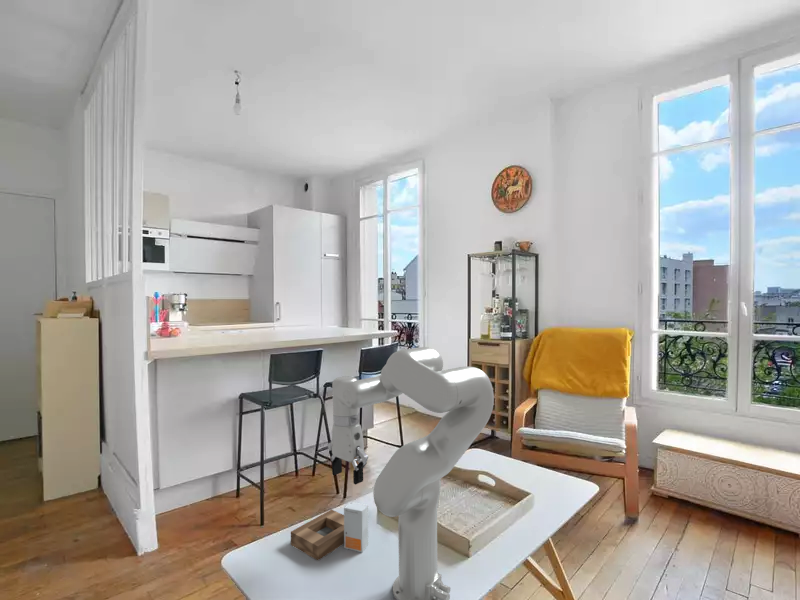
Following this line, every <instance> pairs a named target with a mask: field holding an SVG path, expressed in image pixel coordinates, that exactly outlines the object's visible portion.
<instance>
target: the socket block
mask: <svg viewBox="0 0 800 600" xmlns="http://www.w3.org/2000/svg"><path fill="white" fill-rule="evenodd" d="M291 545H292V546H291ZM290 546H291V547H293V546H294V547H293V548H295V549H297V550H299V551H300V552H302V553H304V554H305V555H308V556H309V557H310V558H312V559H314V560H315V561H320V560H321V559H324V557H326V556H328V555H330V554H331V553H333V552H334V551H336V550H337V549H338V548H340V547H342V546H344V513H340V512H339V511H336V510H333V509H330V510H328V511H326V512H324V513H323V514H321V515H319V516H317V517H315V518H313V519H312V520H310V521H308V522H306V523H304V524H303V525H300V526H299V527H297V528H295V529H293V530H291V531H290Z"/></svg>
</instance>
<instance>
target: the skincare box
mask: <svg viewBox="0 0 800 600" xmlns="http://www.w3.org/2000/svg"><path fill="white" fill-rule="evenodd" d="M343 515H344V544H343V548H344V549H346V550H351V551H355V552H359V553H364V551H365V550H366V549H367V547H368V546H369V505H368V504H367V503H365V504H364V503H361V502H353V501H349V502H348V503H346V506H344V508H343Z"/></svg>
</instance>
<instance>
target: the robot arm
mask: <svg viewBox="0 0 800 600" xmlns="http://www.w3.org/2000/svg"><path fill="white" fill-rule="evenodd" d="M331 384H332V421H333V422H332V423H333V424H332V430H331V442H328V443H327V449H328V454H329V456H330V461H331V468H332V469H331V471H332V472H331V474H332V476H336V475H339V474H341V473H343V467H342V465H343V461H346V462H348V463H351V464H352V466H353V473H352V474H353V477H352V478H353V481H352V482H353V485H359V484H360V483H362V482H364V469H365V466H366V465H367V462H368V459H369V456H368V454H367V453H366V452H365V443H364V436H363V429H362V426H361V424H360V410H359V409H361V408H364V407H368V406H372V405H376V404H380V403H384V402H387V401H389V400H391V399H394V398H397V397H398V396H401V395H403V394H404V395H405V396H406V397H408V398H409V399H411V400H412V401H414V402H415V403H417V404H418V405H420V406H421V407H422V408H424V409H425V410H428V411H430V412H432V413H436V414H443V413H445V414H444V415H443V416H442V417H441V419H440V420H439V421H438V423H437V424H436V426H435V427H434V428H433V429H432V431H430V433H429V434H427V435H426V436H423V437H422V438H421V437H420V438H419V439H416V440H413V441H411V442H408V443H406V444H403V445H401V447H399V448H398V449H397V450H396V451H395V452H394V453H393V455H392V456H391V457H390V458H389V460H388V462H386V464H385V466H384V468H383V469H382V470H381V472H380V473H379V475H378V476H377V478H376V480H375V483H374V487H373V502H374V504H375V506H376V509H377V510H379V512H380V513H381V514H383V515H384V516H386V517H389V518H395V517H398V527H397V528H398V532H397V533H398V534H397V535H398V540H397V541H398V576H397V577H396V578H395V580H394V581H393V585H392V593H393V597H394V598H395V600H451V595H450V593H451V587H450V586H448V585H446V584H445V583H444V582H443V581H442V574H441V573H439V572H438V507H439V499H440V493H441V487H442V486H441V485H442V484H441V483H442V482H441V479H442V478H443V477H445V476H447V475H448V474H449V473H450V472H451V471H452V470H453V469H454V467H455V466H456V465H457V463H458V462H459V461H460V460H461V458H462V457H463V455H464V454H465V453H466V452H467V451H468V449H469V448H470V447H471V445H472V444H473V442H474V441H475V440H476V439H477V438H478V437H479V435H480V433H482V432H483V430H484V428H485V427H486V425H487V423H488V422H489V420H490V418H491V415H492V413H493V409H494V403H495V397H494V389H493V385H492V382H491V379H490V378H489V376H488V374H487V373H485V371H483V370H481V369H480V368H478V367H475V366H458V367H455V368H449V369H445V370H444V360H443V357H442V356H441V354H440V353H439V352H438V351H437V350H436V349H434V348H432V347H429V346H428V347H427V346H419V347H413V348H406V349H401V350H400V349H399V350H398V351H395V352H393V353H392V354H390V356H389V358H388V359H387V360H386V364H385V365H384V366H383V367H382V368H381V372H380V375H377V376H373V377H367V378H362V379H357V378H356V377H355V376H339V377H336V378H335V379H333V380H332V383H331ZM357 462H358V464H357Z"/></svg>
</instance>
